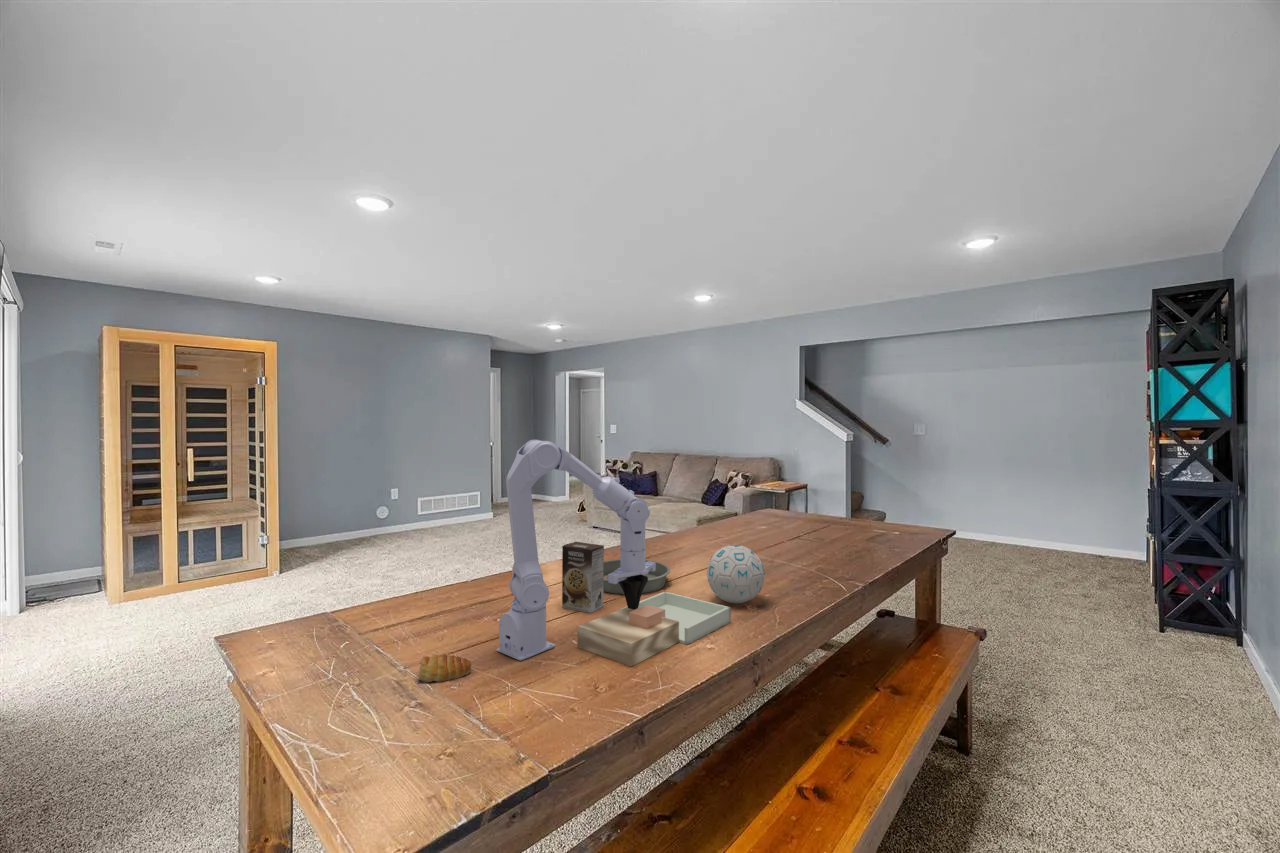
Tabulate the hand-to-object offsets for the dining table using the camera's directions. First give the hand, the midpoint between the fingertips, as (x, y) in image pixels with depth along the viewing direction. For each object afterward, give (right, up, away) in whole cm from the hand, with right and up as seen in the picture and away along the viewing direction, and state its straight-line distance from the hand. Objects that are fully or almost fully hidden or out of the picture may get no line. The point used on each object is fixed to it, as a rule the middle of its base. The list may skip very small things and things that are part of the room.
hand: (632, 608), depth 132 cm
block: (-1, -5, -8) cm, 10 cm away
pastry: (-36, -6, -22) cm, 43 cm away
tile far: (+4, -2, +5) cm, 7 cm away
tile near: (+3, -1, -8) cm, 8 cm away
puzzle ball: (+27, -5, +21) cm, 35 cm away
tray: (+10, -5, +5) cm, 12 cm away
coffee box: (-13, -5, +16) cm, 22 cm away
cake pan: (-2, -5, +38) cm, 39 cm away
